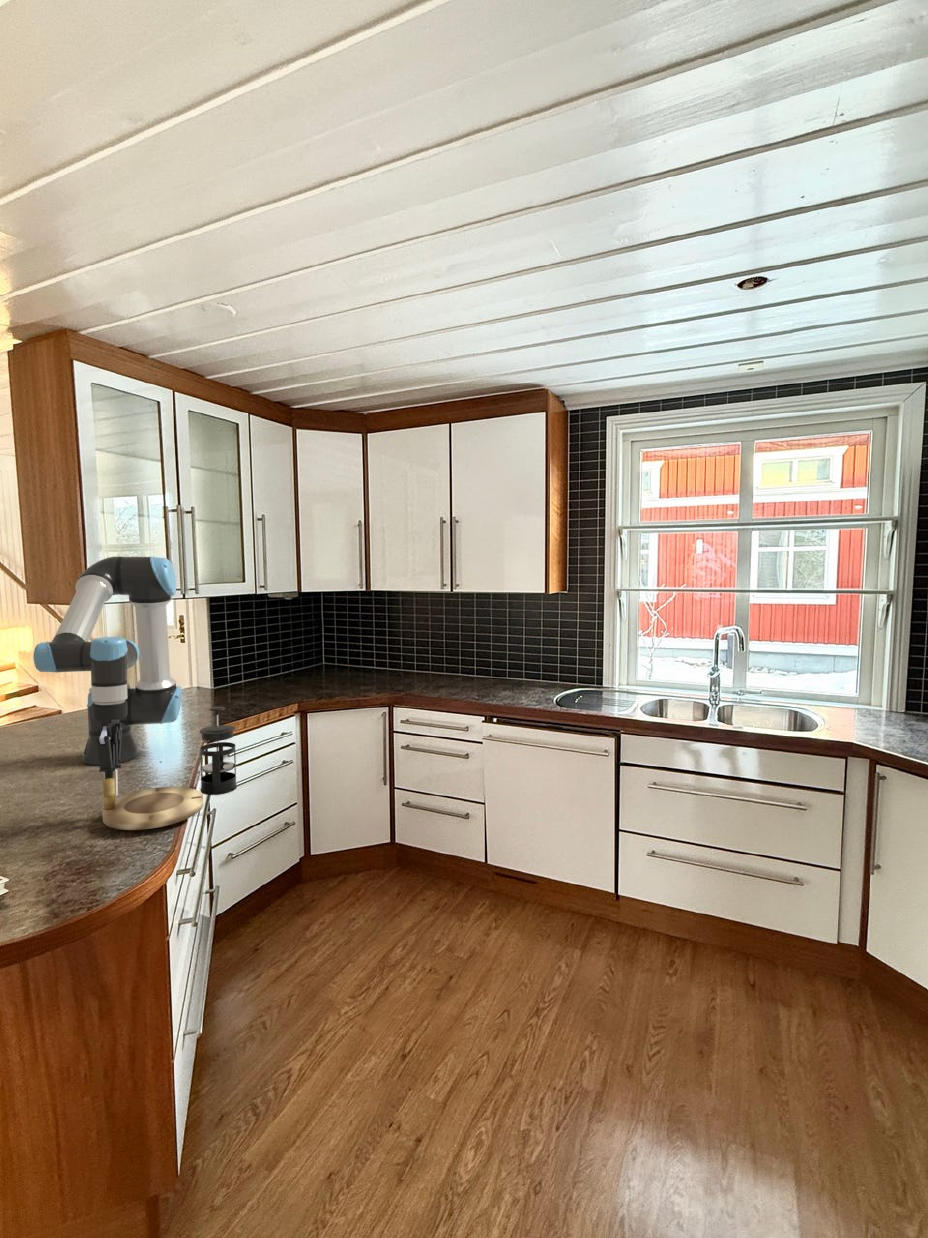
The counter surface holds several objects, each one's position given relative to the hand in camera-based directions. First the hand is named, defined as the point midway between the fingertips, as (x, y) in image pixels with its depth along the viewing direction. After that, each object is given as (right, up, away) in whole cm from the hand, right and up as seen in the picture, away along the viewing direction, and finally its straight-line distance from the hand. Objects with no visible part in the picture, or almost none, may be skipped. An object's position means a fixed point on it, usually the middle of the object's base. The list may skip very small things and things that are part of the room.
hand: (110, 795), depth 147 cm
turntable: (+10, -4, +1) cm, 11 cm away
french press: (+19, -4, +19) cm, 27 cm away
